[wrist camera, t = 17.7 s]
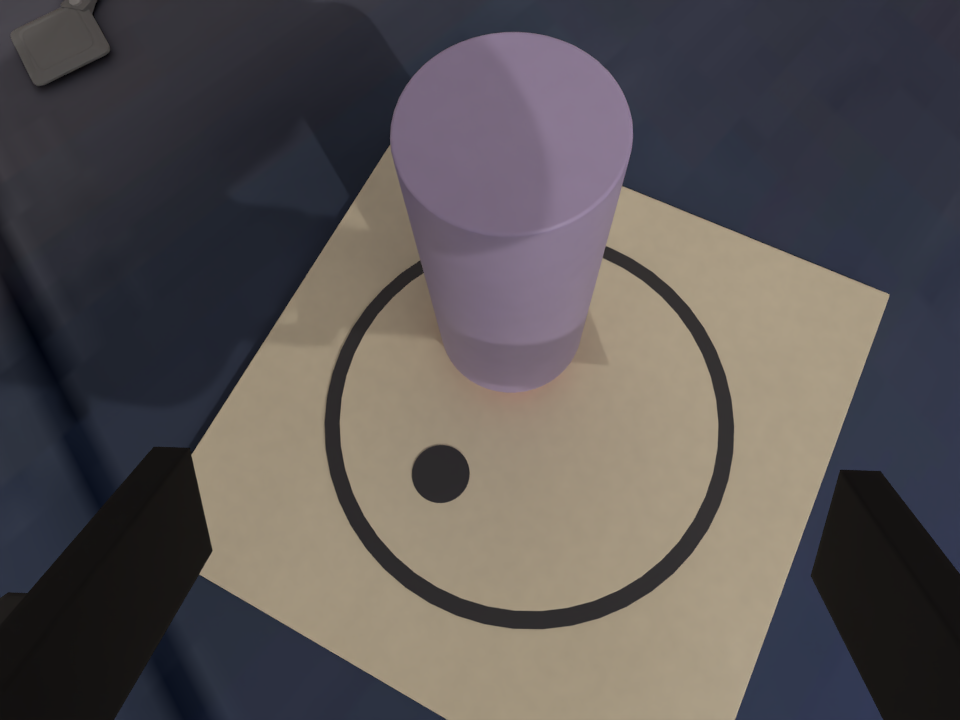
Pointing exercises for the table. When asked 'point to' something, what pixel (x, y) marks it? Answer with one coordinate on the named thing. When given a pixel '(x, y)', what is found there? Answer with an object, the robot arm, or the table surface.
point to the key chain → (60, 41)
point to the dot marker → (511, 197)
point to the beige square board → (538, 472)
